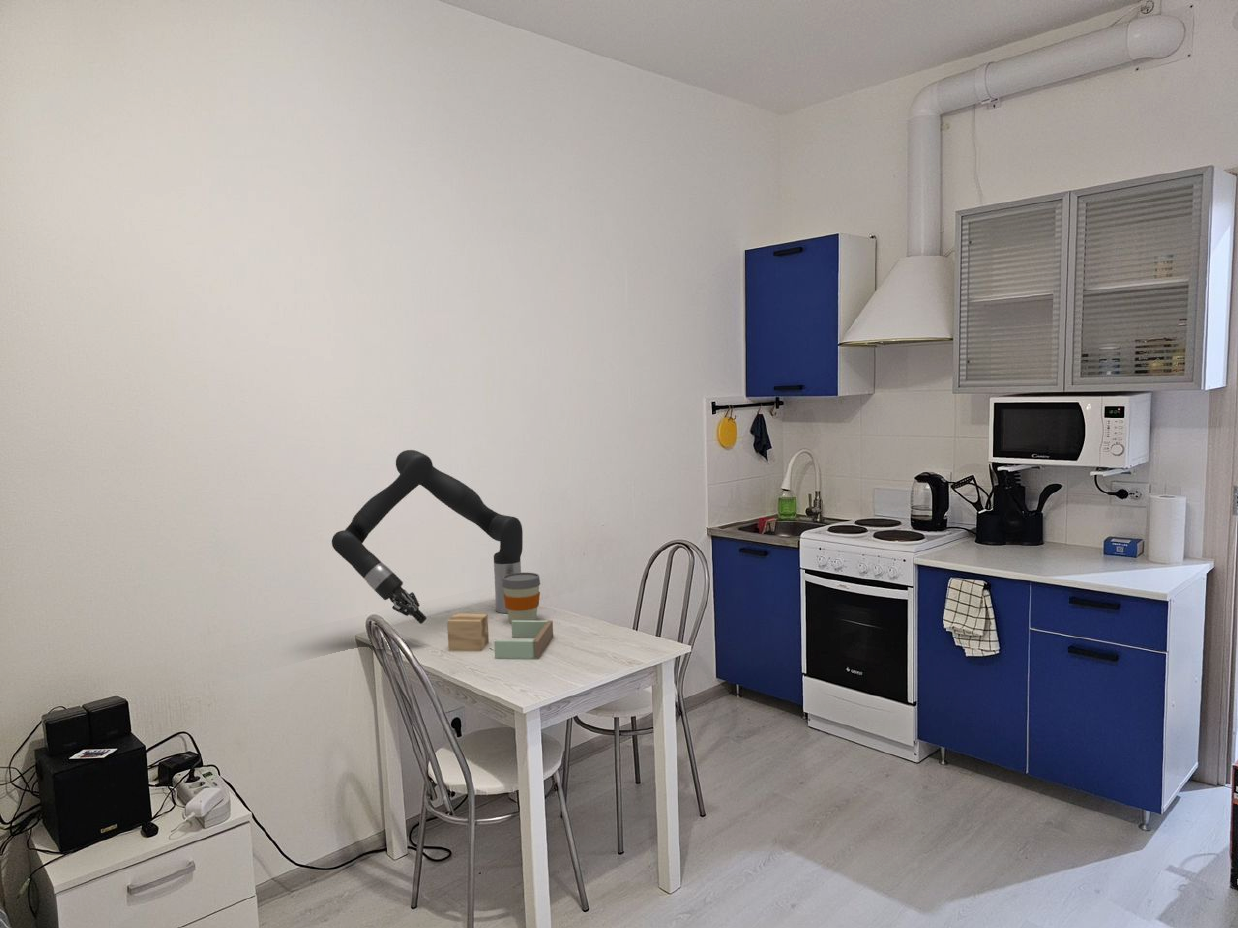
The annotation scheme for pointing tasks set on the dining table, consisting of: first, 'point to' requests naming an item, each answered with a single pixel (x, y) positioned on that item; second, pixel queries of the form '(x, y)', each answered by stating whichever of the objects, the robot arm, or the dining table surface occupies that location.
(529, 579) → the reusable coffee cup
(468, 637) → the oak block
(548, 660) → the dining table surface
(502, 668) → the dining table surface
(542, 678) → the dining table surface
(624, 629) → the dining table surface
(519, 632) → the bay
